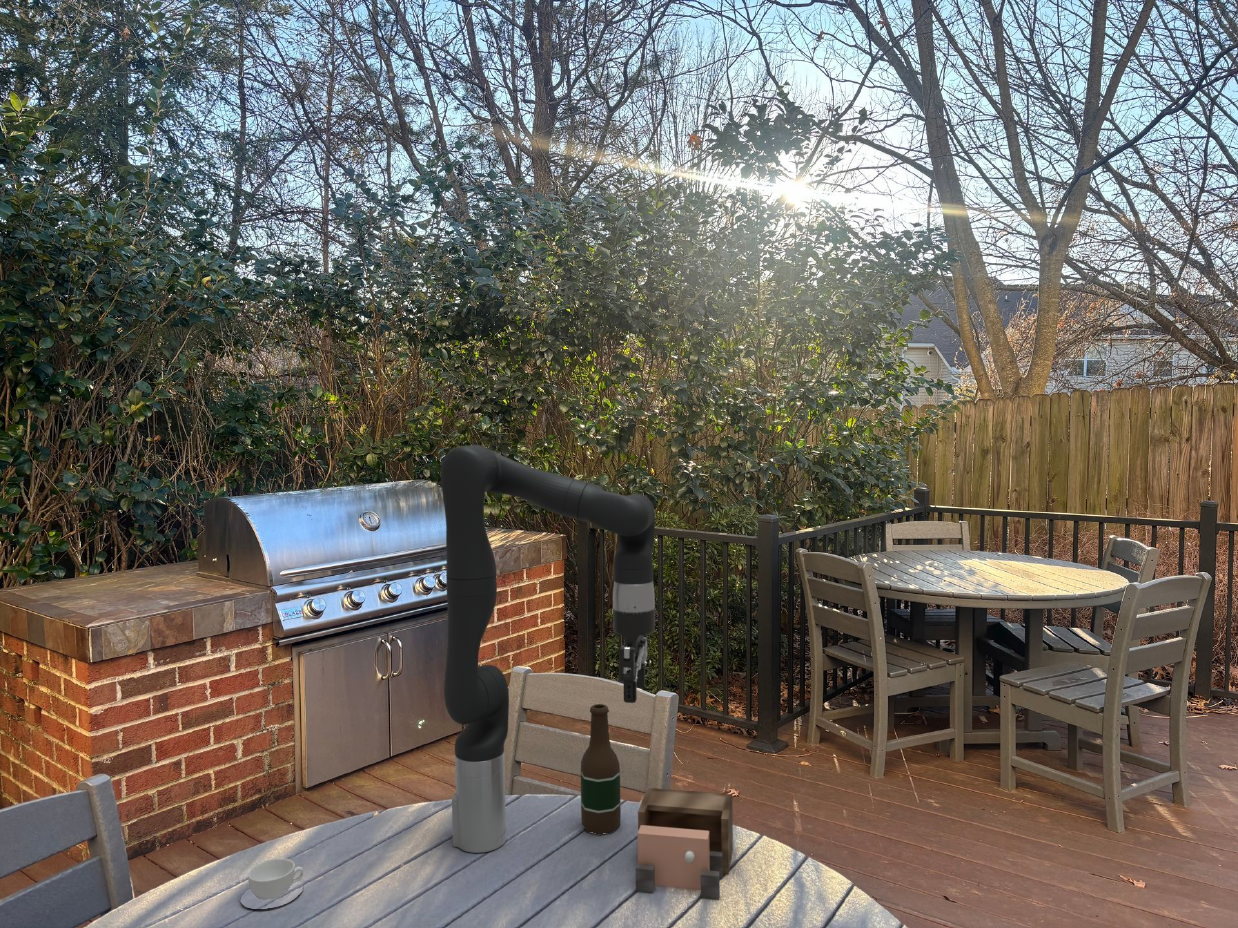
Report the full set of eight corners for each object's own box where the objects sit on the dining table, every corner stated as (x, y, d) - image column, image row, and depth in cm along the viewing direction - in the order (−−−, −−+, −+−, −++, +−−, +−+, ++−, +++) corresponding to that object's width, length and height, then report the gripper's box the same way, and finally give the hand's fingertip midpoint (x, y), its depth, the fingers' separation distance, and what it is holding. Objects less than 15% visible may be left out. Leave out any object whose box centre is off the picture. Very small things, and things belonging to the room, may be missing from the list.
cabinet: (630, 890, 144) (629, 832, 143) (648, 838, 161) (647, 787, 161) (724, 900, 140) (724, 841, 140) (732, 846, 158) (732, 794, 158)
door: (637, 887, 145) (636, 835, 144) (641, 874, 149) (640, 824, 148) (707, 894, 142) (706, 842, 142) (709, 881, 146) (709, 830, 146)
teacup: (241, 918, 137) (240, 890, 137) (239, 888, 146) (238, 862, 146) (307, 902, 142) (306, 875, 142) (300, 874, 151) (299, 848, 150)
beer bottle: (622, 817, 170) (621, 699, 169) (618, 836, 163) (617, 713, 161) (584, 816, 171) (582, 699, 170) (578, 834, 163) (576, 712, 162)
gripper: (647, 615, 145) (648, 708, 146) (660, 598, 159) (661, 683, 160) (604, 614, 147) (605, 706, 147) (621, 596, 160) (622, 681, 161)
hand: (634, 694), depth 154 cm, fingers open, 8 cm apart
